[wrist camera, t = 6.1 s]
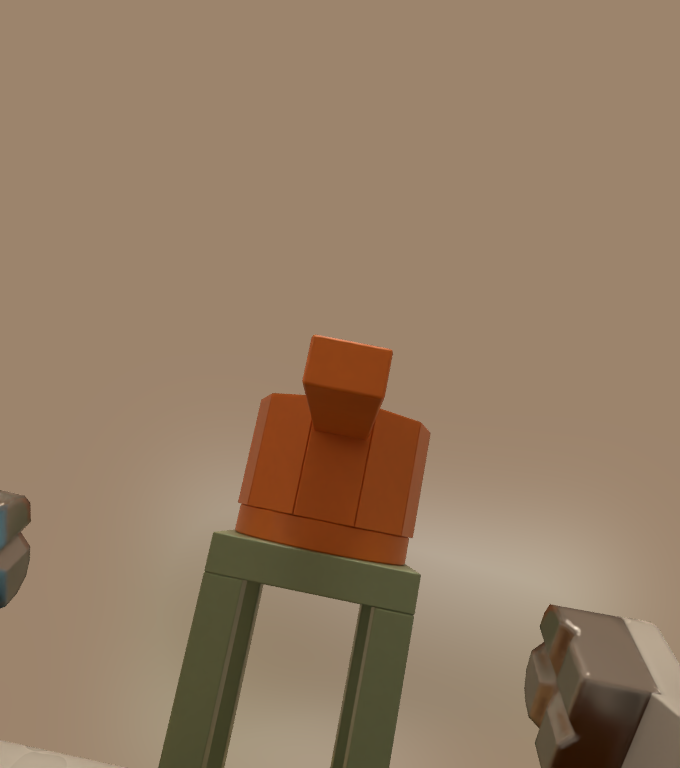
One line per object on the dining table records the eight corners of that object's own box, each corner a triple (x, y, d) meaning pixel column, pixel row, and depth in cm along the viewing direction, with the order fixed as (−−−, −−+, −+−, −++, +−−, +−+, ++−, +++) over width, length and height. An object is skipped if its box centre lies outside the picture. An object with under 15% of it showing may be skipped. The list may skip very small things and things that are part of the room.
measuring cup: (244, 528, 32) (270, 412, 33) (399, 559, 32) (419, 442, 33) (149, 539, 16) (207, 312, 17) (466, 604, 15) (501, 369, 17)
